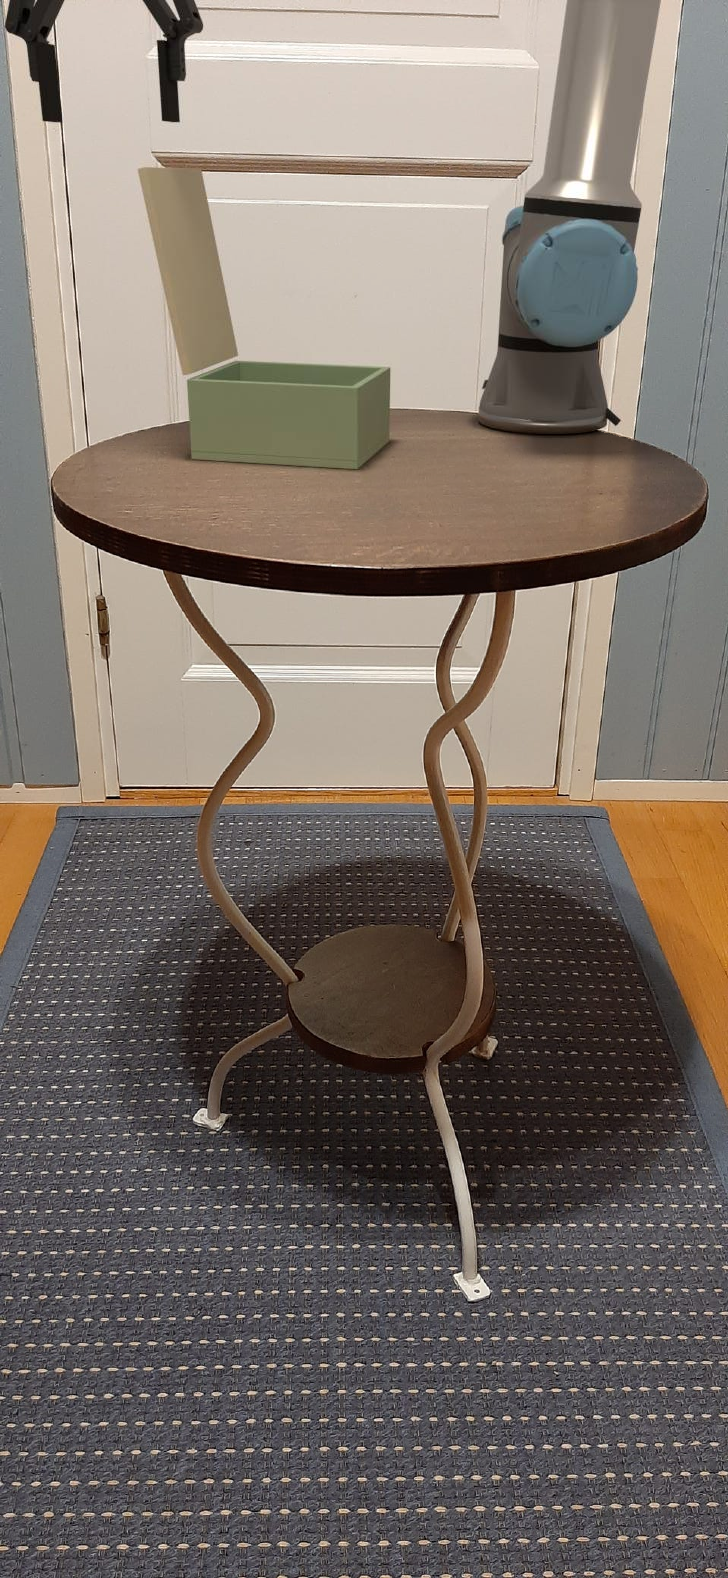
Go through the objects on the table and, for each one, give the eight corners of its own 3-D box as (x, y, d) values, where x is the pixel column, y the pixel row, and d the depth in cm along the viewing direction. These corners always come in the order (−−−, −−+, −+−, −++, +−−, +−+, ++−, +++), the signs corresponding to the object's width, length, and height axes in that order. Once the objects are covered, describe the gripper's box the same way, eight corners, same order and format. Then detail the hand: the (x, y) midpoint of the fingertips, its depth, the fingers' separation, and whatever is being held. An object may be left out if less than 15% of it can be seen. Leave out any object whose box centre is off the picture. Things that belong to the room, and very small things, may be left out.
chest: (389, 441, 127) (390, 367, 123) (357, 469, 114) (357, 387, 111) (238, 433, 131) (235, 360, 127) (191, 459, 118) (186, 379, 114)
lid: (201, 168, 119) (194, 170, 119) (144, 166, 106) (137, 168, 107) (238, 355, 127) (231, 356, 127) (189, 374, 114) (182, 375, 114)
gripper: (-57, -165, 101) (-21, 119, 111) (200, -180, 96) (214, 119, 106) (-13, -144, 108) (18, 123, 118) (230, -157, 103) (240, 123, 113)
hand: (111, 122), depth 112 cm, fingers open, 12 cm apart
